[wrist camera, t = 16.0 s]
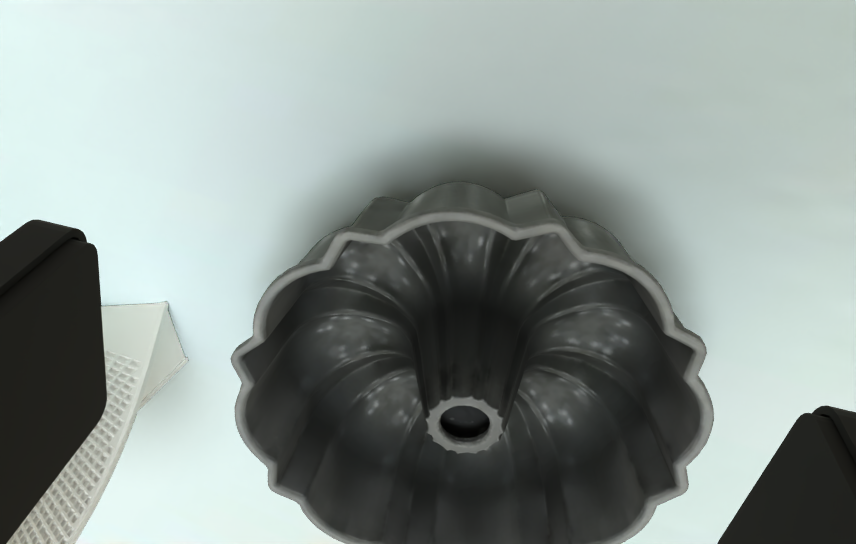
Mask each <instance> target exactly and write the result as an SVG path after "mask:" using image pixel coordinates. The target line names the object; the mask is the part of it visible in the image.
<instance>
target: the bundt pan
mask: <svg viewBox="0 0 856 544" xmlns="http://www.w3.org/2000/svg"><path fill="white" fill-rule="evenodd" d="M706 354H707V352H706V347H705V344H704V342H703V341H702V339H701V337H700V336H698V335H696V334H695V333H693V332H692V331H690V330H688V329H686V328H684V327H683V325H682V324H681V322H680V321H679V319H678V318H677V317H676V315H675V314H674V312H673V310H672V307H671V304H670V302H669V300H668V298H667V296H666V294H665V292H664V290H663V289H662V287H661V285H660V284H659V283H658V281H657V280H656V279H655V278H654V277H653V276H652V275H651V274H650V273H649V272H648V271H647V270H646V269H645V268H643V267H642V266H640V265H639V264H637V263H636V262H634V261H633V260H632V259H631V258H630V256H629V255H628V254H627V252H626V251H625V249H624V248H623V246H622V245H621V244H620V242H619V241H618V240H617V239H616V238H615V237H614V236H613V235H612V234H611V233H609V232H608V231H607V230H606V229H604V228H603V227H601V226H599V225H598V224H595V223H593V222H591V221H588V220H585V219H581V218H576V217H561V216H560V214H559V213H558V211H557V210H556V209H555V207H554V206H553V205H552V203H551V202H550V201H549V199H548V198H547V197H546V195H545V194H544V193H543V192H542V191H540V190H532V191H529V192H525V193H522V194H519V195H515V196H512V197H509V198H505V199H504V198H502V197H501V196H500V195H499V194H497V193H495V192H494V191H492V190H490V189H488V188H486V187H483V186H480V185H477V184H473V183H468V182H452V183H445V184H442V185H438V186H435V187H433V188H431V189H429V190H427V191H425V192H423V193H422V194H420V195H419V196H417V197H416V198H415V199H414V200H413V201H412V202H410V203H409V202H405V201H400V200H396V199H392V198H387V197H379V198H375V199H374V200H372V201H371V202H370V203H369V204H368V205H367V207H366V208H365V209H364V211H363V212H362V213H361V214H360V216H359V217H358V218H357V220H356V221H355V222H354V223H353V225H352V226H350V227H345V228H342V229H339V230H337V231H335V232H332V233H331V234H329V235H327V236H326V237H324V238H323V239H322V240H320V241H319V242H318V243H317V244H316V245H315V246H314V247H313V248H312V249H311V250H310V252H309V253H308V254H307V255H306V256H305V257H304V258H303V259H302V260H301V261H300V263H299V264H298V265H296V266H294V267H292V268H290V269H288V270H287V271H285V272H284V273H283V274H281V275H280V276H278V277H277V278H276V279H275V280H274V281H273V282H272V283H271V284H270V286H269V287H268V288H267V290H266V291H265V293H264V294H263V296H262V298H261V300H260V301H259V303H258V305H257V308H256V312H255V315H254V321H253V336H252V337H251V338H249V339H248V340H246V341H245V342H243V343H242V344H240V345H239V346H238V347H237V348H236V349H235V351H234V353H233V354H232V356H231V363H232V365H233V367H234V369H235V370H236V372H237V374H238V376H239V378H240V380H241V382H242V385H241V388H240V392H239V394H238V397H237V400H236V405H235V421H236V425H237V429H238V432H239V434H240V436H241V438H242V440H243V441H244V443H245V444H246V446H247V447H248V448H249V450H250V451H251V452H252V453H253V454H254V455H255V456H256V457H257V458H258V459H259V460H260V461H261V462H262V463H264V464H265V465H266V467H267V468H268V486H269V488H270V489H271V490H272V491H273V492H275V493H277V494H279V495H281V496H284V497H286V498H289V499H291V500H293V501H295V502H297V503H298V504H299V505H300V506H301V509H302V511H303V513H304V514H305V515H306V516H307V518H308V519H309V520H310V521H311V522H312V523H313V524H314V525H315V526H316V527H317V528H319V529H320V530H321V531H323V532H324V533H326V534H327V535H329V536H331V537H332V538H334V539H336V540H338V541H341V542H343V543H346V544H621V543H623V542H625V541H626V540H628V539H630V538H632V537H633V536H635V535H636V534H637V533H638V532H640V531H641V530H642V529H643V528H644V527H645V526H646V525H647V523H648V522H649V520H650V519H651V517H652V516H653V514H654V512H655V509H656V507H657V505H660V504H662V503H664V502H667V501H669V500H671V499H673V498H676V497H678V496H680V495H682V494H684V493H685V492H686V491H687V489H688V485H689V484H688V476H687V470H686V466H687V465H688V464H690V463H691V462H692V461H693V460H694V458H695V457H696V456H697V455H698V454H699V453H700V451H701V450H702V449H703V447H704V446H705V444H706V443H707V440H708V438H709V436H710V433H711V430H712V426H713V421H714V413H713V405H712V401H711V398H710V396H709V393H708V391H707V389H706V387H705V385H704V383H703V382H702V380H701V379H700V377H699V376H698V373H699V371H700V369H701V366H702V364H703V362H704V359H705V356H706Z"/></svg>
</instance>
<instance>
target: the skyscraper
mask: <svg viewBox="0 0 856 544" xmlns="http://www.w3.org/2000/svg"><path fill="white" fill-rule="evenodd" d="M168 305H169V304H168V302H161V303H151V304H133V305H115V306H101V312H102V327H103V342H104V357H105V371H106V386H107V402H106V407H105V410H104V413H103V415H102V417H101V419H100V421H99V422H98V424H97V425H96V427H95V428H94V429H93V430H92V432H91V433H90V434H89V436H88V437H87V438H86V440H85V441H84V442H83V444H82V445H81V446H80V448H79V449H78V450H77V452H76V453H75V454H74V455H73V457H72V458H71V459H70V461H69V462H68V463H67V465H66V466H65V467H64V469H63V470H62V471H61V473H60V474H59V475H58V476H57V478H56V479H55V480H54V482H53V483H52V484H51V486H50V487H49V488H48V490H47V491H46V492H45V494H44V495H43V496H42V497H41V499H40V500H39V501H38V503H37V504H36V505H35V507H34V508H33V509H32V511H31V512H30V513H29V515H28V516H27V517H26V519H25V520H24V521H23V522H22V524H21V525H20V526H19V528H18V529H17V530H16V532H15V533H14V534H13V536H12V537H11V538H10V540H9V541H8V542H7V543H6V544H75V542H76V541H77V539H78V537H79V536H80V534H81V533H82V531H83V529H84V527H85V526H86V524H87V522H88V520H89V519H90V517H91V515H92V513H93V511H94V510H95V508H96V506H97V504H98V502H99V500H100V498H101V496H102V494H103V492H104V490H105V488H106V486H107V484H108V482H109V481H110V478H111V476H112V474H113V472H114V469H115V467H116V465H117V463H118V461H119V458H120V456H121V454H122V451H123V449H124V446H125V444H126V441H127V439H128V436H129V434H130V431H131V429H132V426H133V424H134V421H135V418H136V415H137V412H138V411H139V410H140V409H141V408H142V407H143V406H144V405H145V404H146V403H147V402H148V401H149V400H150V399H151V398H152V397H153V396H154V395H155V394H156V393H157V392H158V391H159V390H160V389H161V388H162V387H163V386H164V385H165V384H166V383H167V382H168V381H169V380H170V379H171V378H172V377H173V376H174V375H175V374H176V373H177V372H178V371H179V370H180V369H181V368H182V367H183V366H184V365H185V364H186V363H187V362H188V361H189V360H188V357H185V356H184V353H183V350H182V347H181V345H180V342H179V339H178V336H177V334H176V331H175V328H174V325H173V323H172V320H171V317H170V315H169V312H168Z"/></svg>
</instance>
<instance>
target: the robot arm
mask: <svg viewBox="0 0 856 544" xmlns="http://www.w3.org/2000/svg"><path fill="white" fill-rule="evenodd" d="M106 402H107V386H106V371H105V357H104V342H103V327H102V312H101V297H100V282H99V267H98V254H97V249H96V248H95V246H94V245H93V244H91V243H87V240H86V237H85V235H84V233H83V232H82V231H81V230H79V229H76V228H71V227H67V226H63V225H59V224H54V223H50V222H46V221H42V220H31V221H29V222H27V223H25V224H24V225H23V226H21V227H20V228H19V229H17V230H16V231H15V232H13V233H12V234H10V235H9V236H8V237H6V238H5V239H4V240H2V241H1V242H0V544H6V543H7V542H8V541H9V540H10V538H11V537H12V536H13V534H14V533H15V532H16V530H17V529H18V528H19V526H20V525H21V524H22V522H23V521H24V520H25V519H26V517H27V516H28V515H29V513H30V512H31V511H32V509H33V508H34V507H35V505H36V504H37V503H38V501H39V500H40V499H41V497H42V496H43V495H44V494H45V492H46V491H47V490H48V488H49V487H50V486H51V484H52V483H53V482H54V480H55V479H56V478H57V476H58V475H59V474H60V473H61V471H62V470H63V469H64V467H65V466H66V465H67V463H68V462H69V461H70V459H71V458H72V457H73V455H74V454H75V453H76V452H77V450H78V449H79V448H80V446H81V445H82V444H83V442H84V441H85V440H86V438H87V437H88V436H89V434H90V433H91V432H92V430H93V429H94V428H95V427H96V425H97V424H98V422H99V421H100V419H101V417H102V415H103V413H104V410H105V407H106ZM718 544H856V412H852V411H847V410H843V409H839V408H835V407H830V406H821V407H819V408H817V409H816V410H815V411H814V412H813V413H812V414H811V413H804V414H803V415H801V416H800V417H799V418H798V419H797V420H796V422H795V424H794V425H793V427H792V428H791V430H790V431H789V433H788V434H787V436H786V437H785V439H784V441H783V442H782V444H781V445H780V447H779V448H778V450H777V451H776V453H775V455H774V456H773V458H772V459H771V461H770V462H769V464H768V465H767V467H766V469H765V470H764V472H763V473H762V475H761V476H760V478H759V479H758V481H757V482H756V484H755V486H754V487H753V489H752V490H751V492H750V493H749V495H748V496H747V498H746V500H745V501H744V503H743V504H742V506H741V507H740V509H739V510H738V512H737V513H736V515H735V517H734V518H733V520H732V521H731V523H730V524H729V526H728V527H727V529H726V531H725V532H724V534H723V535H722V537H721V538H720V540H719V542H718Z"/></svg>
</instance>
